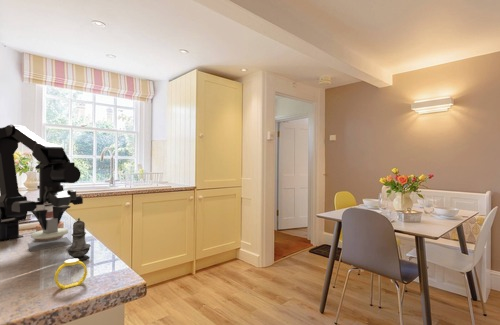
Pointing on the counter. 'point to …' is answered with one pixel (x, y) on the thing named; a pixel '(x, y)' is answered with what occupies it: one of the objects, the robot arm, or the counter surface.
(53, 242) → the mat
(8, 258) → the counter surface
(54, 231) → the lid
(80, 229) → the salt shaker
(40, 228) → the bowl
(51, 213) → the pill bottle
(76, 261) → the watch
